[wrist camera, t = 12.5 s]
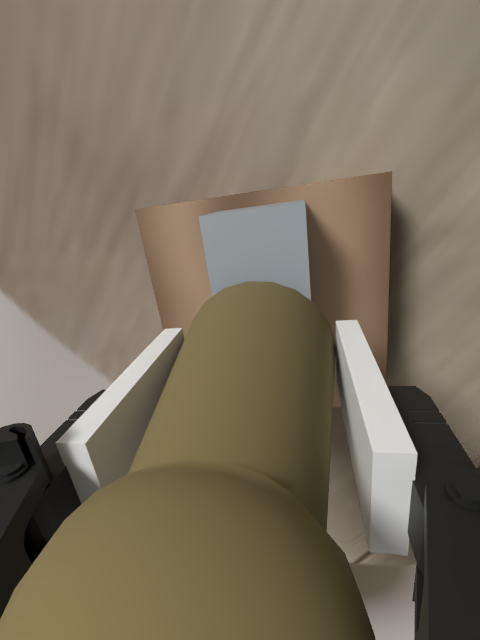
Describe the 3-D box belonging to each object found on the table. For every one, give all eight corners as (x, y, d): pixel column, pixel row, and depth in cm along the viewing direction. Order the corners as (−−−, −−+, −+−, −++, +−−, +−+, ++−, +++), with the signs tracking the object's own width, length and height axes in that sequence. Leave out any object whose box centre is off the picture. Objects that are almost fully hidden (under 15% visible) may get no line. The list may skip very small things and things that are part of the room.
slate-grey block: (303, 199, 15) (305, 202, 12) (315, 402, 19) (319, 446, 15) (218, 211, 16) (198, 216, 12) (247, 403, 19) (237, 445, 16)
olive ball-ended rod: (231, 429, 15) (92, 931, 5) (161, 318, 13) (-260, 719, 3) (360, 387, 13) (573, 1064, 3) (296, 252, 11) (286, 713, 1)
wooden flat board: (374, 175, 17) (392, 171, 14) (372, 374, 21) (385, 406, 18) (161, 206, 19) (134, 209, 16) (197, 379, 24) (181, 408, 20)
